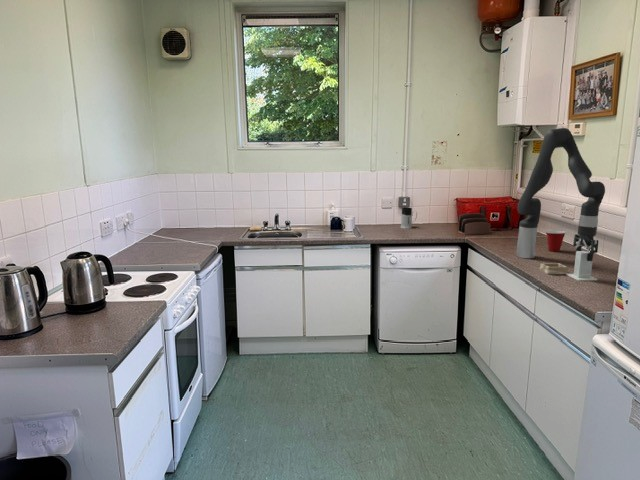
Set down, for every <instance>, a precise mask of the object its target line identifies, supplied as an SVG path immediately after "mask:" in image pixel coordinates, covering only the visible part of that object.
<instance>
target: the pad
mask: <svg viewBox="0 0 640 480" xmlns="http://www.w3.org/2000/svg"><path fill="white" fill-rule="evenodd" d="M565 276H568V277H570V278H572V279H575V280H576V281H578V282H584V281H598V279H597V278H596V277H593V276H592V275H591V277H576V276H574V272H571V273H568V272H567V274H565Z"/></svg>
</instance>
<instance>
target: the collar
mask: <svg viewBox="0 0 640 480" xmlns="http://www.w3.org/2000/svg"><path fill="white" fill-rule="evenodd" d="M568 268H569V267H568V266H566V265H564V264H562V263H559V262H551V263H550V262H548V263H546V262H545V263H544V262H543V263H540V264H539V271H541V272H542V273H544V274H547V275H566V274H567V273H568Z"/></svg>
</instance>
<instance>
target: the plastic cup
mask: <svg viewBox="0 0 640 480" xmlns="http://www.w3.org/2000/svg"><path fill="white" fill-rule="evenodd" d="M566 233H567V231H563V230H546V231H545V234H546V237H547V239H546V240H547V241H546V242H547V246H548V247H547V249H548V251H549V252H552V253H553V252H555V253H556V252H557V253H559V252H560V250H561V247H562V244H563V241H564V237H565V234H566Z"/></svg>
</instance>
